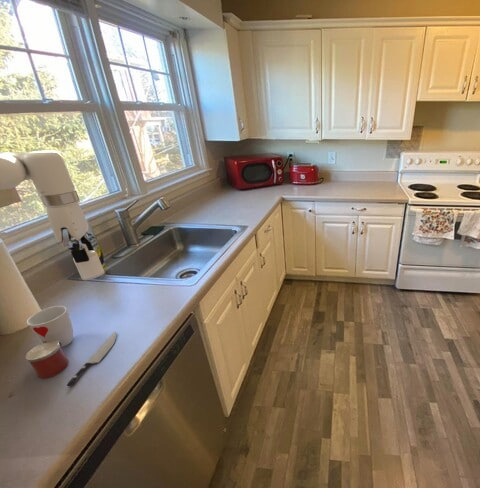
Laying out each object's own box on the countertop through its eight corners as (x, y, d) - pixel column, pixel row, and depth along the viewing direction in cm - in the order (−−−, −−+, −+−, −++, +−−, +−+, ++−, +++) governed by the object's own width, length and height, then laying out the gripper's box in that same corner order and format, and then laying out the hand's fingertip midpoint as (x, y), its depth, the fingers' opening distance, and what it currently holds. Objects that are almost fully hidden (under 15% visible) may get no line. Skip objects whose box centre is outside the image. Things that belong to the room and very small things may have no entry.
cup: (36, 348, 79) (19, 321, 75) (68, 329, 86) (54, 303, 82) (55, 356, 77) (38, 328, 72) (86, 335, 84) (73, 309, 79)
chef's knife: (125, 331, 85) (115, 331, 85) (124, 328, 85) (114, 328, 84) (79, 387, 68) (66, 387, 68) (77, 384, 67) (64, 384, 67)
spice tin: (32, 381, 69) (20, 363, 67) (44, 363, 75) (33, 344, 72) (63, 373, 72) (52, 355, 69) (73, 356, 77) (63, 338, 74)
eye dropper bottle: (102, 277, 86) (88, 242, 81) (80, 281, 84) (63, 245, 79) (106, 271, 89) (92, 236, 84) (85, 274, 88) (69, 240, 82)
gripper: (56, 192, 82) (80, 248, 90) (27, 209, 68) (58, 274, 76) (87, 190, 84) (108, 244, 92) (65, 205, 70) (92, 268, 78)
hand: (85, 257), depth 84 cm, fingers closed on eye dropper bottle, 4 cm apart
